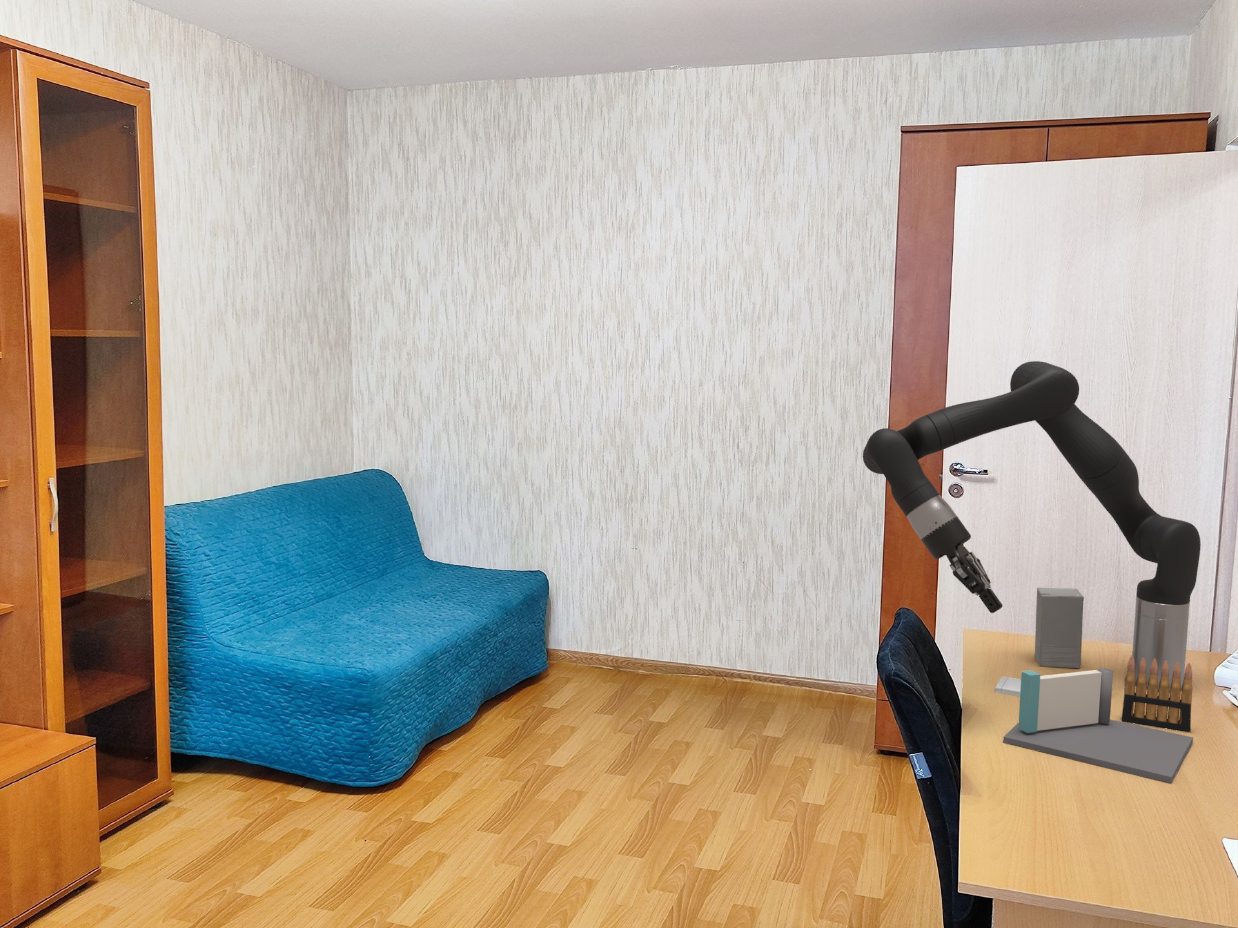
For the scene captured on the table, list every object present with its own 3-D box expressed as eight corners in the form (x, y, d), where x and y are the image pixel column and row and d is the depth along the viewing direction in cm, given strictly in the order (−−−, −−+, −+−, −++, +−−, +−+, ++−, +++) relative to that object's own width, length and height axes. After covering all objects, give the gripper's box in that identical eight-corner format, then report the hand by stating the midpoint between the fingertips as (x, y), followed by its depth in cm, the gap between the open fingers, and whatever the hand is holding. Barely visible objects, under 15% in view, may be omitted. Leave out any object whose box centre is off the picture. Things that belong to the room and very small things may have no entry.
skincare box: (1074, 660, 212) (1078, 587, 210) (1081, 670, 205) (1086, 595, 203) (1031, 657, 214) (1036, 584, 212) (1037, 667, 207) (1042, 592, 205)
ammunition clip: (1189, 729, 174) (1195, 662, 173) (1190, 732, 172) (1195, 665, 171) (1121, 718, 179) (1126, 653, 178) (1121, 721, 177) (1125, 656, 176)
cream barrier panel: (1102, 717, 175) (1106, 662, 174) (1112, 722, 173) (1116, 666, 172) (1017, 727, 170) (1021, 671, 169) (1027, 733, 168) (1030, 675, 166)
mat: (1037, 708, 183) (1037, 703, 183) (1192, 742, 168) (1193, 737, 168) (1003, 742, 167) (1003, 736, 167) (1171, 783, 152) (1171, 776, 152)
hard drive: (1070, 686, 192) (1002, 674, 199) (1065, 698, 185) (994, 686, 192) (1069, 694, 193) (1002, 682, 199) (1064, 707, 186) (994, 694, 192)
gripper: (947, 517, 170) (1010, 604, 165) (963, 512, 182) (1022, 593, 177) (911, 541, 173) (971, 627, 169) (929, 535, 185) (986, 615, 180)
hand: (997, 610), depth 173 cm, fingers closed
